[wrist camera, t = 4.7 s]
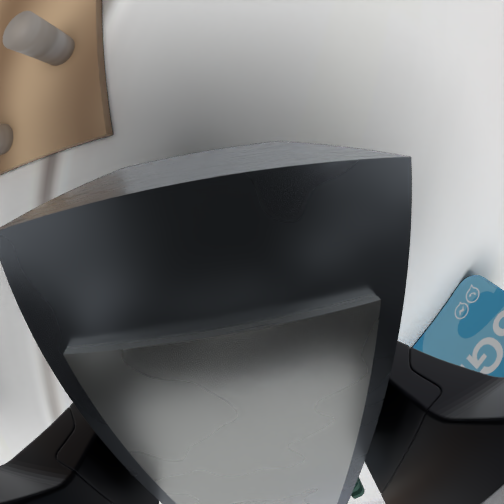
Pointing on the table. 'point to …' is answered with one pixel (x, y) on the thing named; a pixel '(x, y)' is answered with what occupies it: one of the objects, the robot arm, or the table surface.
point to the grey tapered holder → (225, 314)
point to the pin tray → (50, 78)
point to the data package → (469, 328)
